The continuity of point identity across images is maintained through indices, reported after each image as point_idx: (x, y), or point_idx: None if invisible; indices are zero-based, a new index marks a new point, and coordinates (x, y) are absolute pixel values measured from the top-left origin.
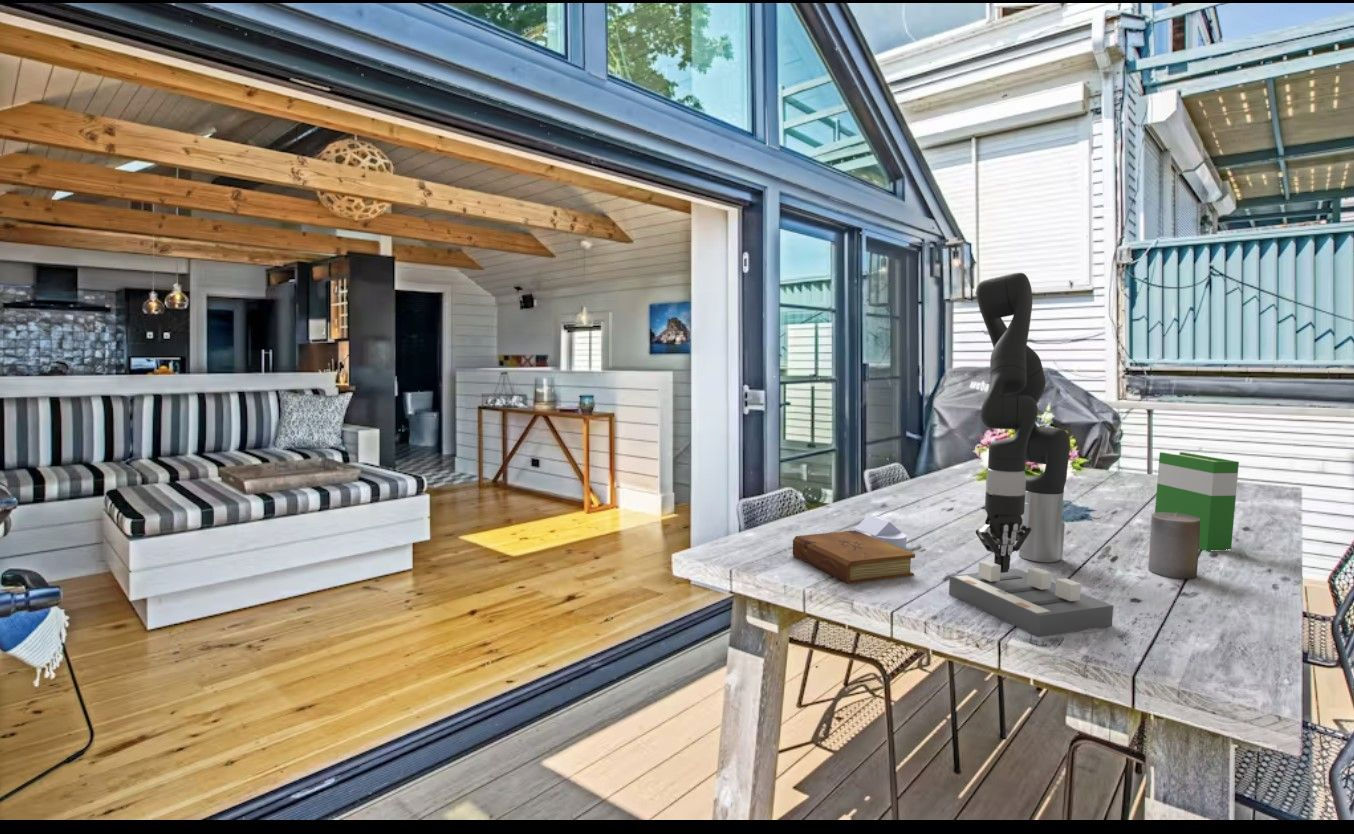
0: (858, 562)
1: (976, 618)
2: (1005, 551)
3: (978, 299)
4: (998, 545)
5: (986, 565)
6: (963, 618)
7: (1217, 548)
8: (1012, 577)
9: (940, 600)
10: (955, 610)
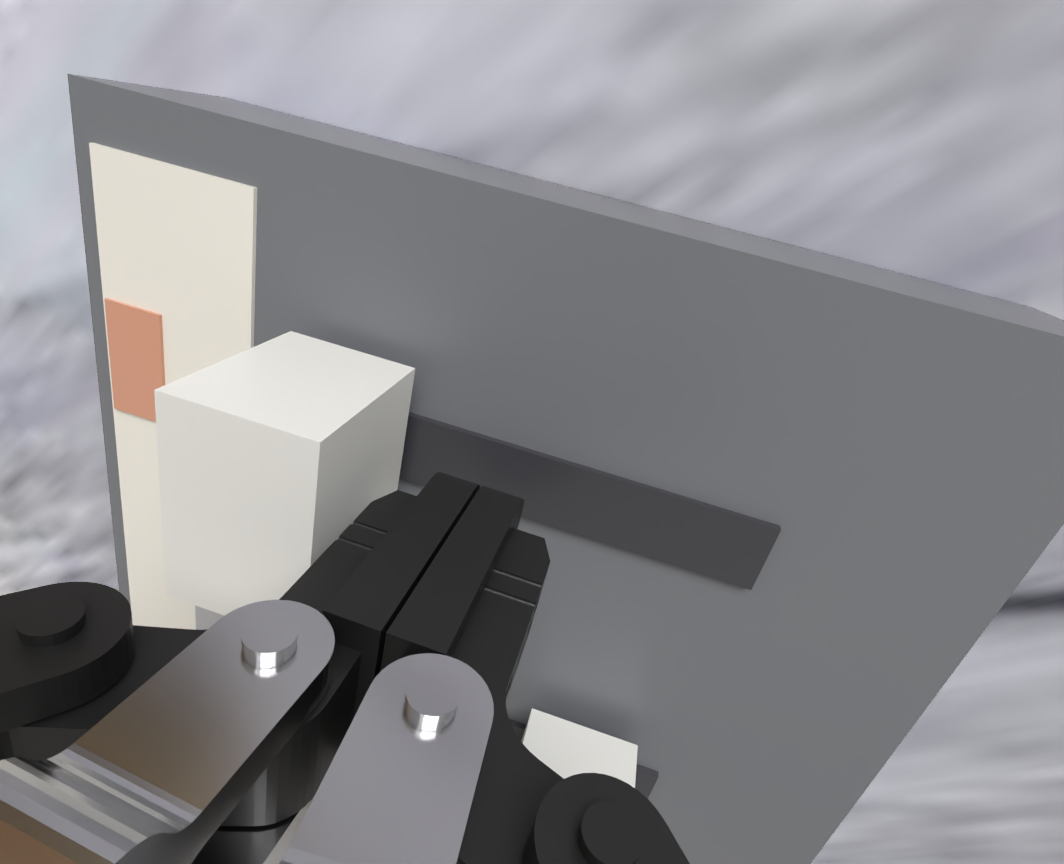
0: None
1: (105, 508)
2: (287, 835)
3: None
4: (234, 789)
5: (173, 513)
6: (38, 467)
7: None
8: (649, 533)
9: (71, 174)
10: (63, 367)
